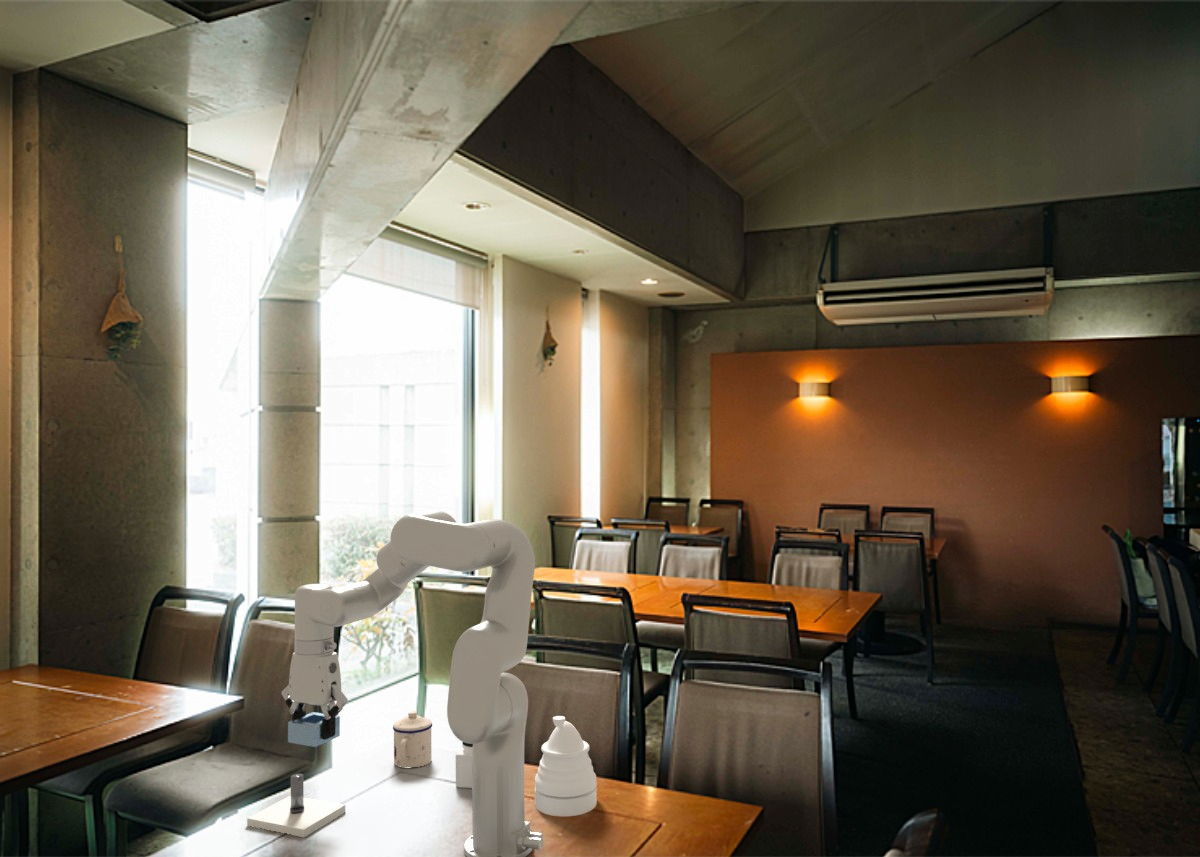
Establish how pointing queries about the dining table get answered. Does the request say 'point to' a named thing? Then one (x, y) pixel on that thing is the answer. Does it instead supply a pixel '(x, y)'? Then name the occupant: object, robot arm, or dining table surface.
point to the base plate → (296, 816)
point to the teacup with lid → (412, 741)
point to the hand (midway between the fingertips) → (313, 734)
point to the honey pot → (565, 774)
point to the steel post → (297, 794)
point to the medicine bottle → (464, 766)
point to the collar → (309, 730)
